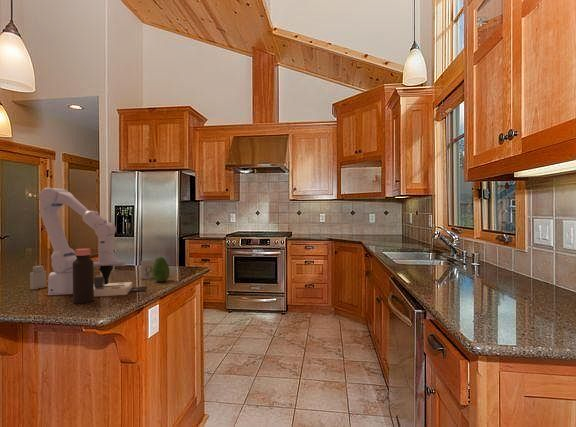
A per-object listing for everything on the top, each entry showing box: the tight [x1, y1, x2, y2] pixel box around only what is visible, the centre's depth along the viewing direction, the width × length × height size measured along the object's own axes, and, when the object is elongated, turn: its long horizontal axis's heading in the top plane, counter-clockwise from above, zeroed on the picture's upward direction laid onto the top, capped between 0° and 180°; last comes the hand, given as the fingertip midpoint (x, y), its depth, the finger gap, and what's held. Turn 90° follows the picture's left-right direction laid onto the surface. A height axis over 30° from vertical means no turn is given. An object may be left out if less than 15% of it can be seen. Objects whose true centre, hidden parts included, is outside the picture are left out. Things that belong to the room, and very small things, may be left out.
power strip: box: [94, 281, 148, 298], centre depth 139 cm, size 22×12×3 cm, turn 105°
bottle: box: [72, 247, 95, 305], centre depth 124 cm, size 7×7×20 cm
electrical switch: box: [140, 259, 156, 280], centre depth 167 cm, size 9×5×9 cm, turn 116°
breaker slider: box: [94, 274, 105, 287], centre depth 137 cm, size 3×4×4 cm
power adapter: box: [29, 260, 47, 290], centre depth 145 cm, size 3×5×12 cm, turn 162°
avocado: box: [152, 256, 171, 283], centre depth 158 cm, size 8×8×12 cm
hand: (106, 283), depth 138 cm, fingers closed
